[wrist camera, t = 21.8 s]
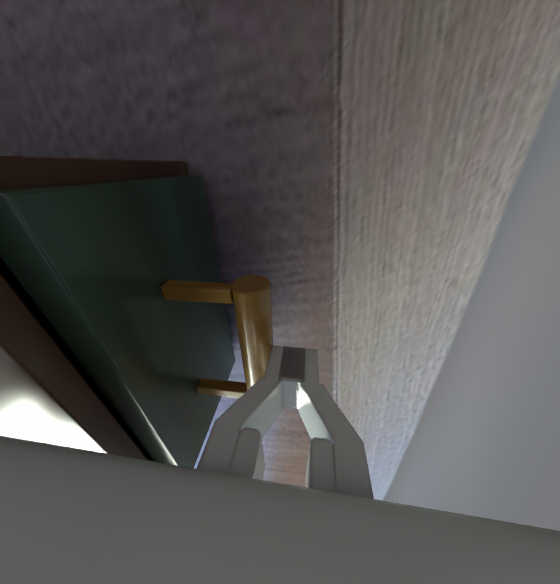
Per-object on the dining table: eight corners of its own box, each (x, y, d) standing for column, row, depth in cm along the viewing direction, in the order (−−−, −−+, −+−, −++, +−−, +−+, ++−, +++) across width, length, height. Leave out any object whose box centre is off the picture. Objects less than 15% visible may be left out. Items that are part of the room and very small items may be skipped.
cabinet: (185, 161, 11) (-193, 149, 3) (226, 355, 18) (159, 506, 10) (-70, 165, 13) (-745, 165, 5) (62, 340, 20) (-103, 457, 12)
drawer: (285, 174, 10) (231, 193, 3) (284, 365, 17) (267, 495, 10) (-53, 176, 12) (-499, 191, 5) (71, 344, 19) (-57, 440, 12)
